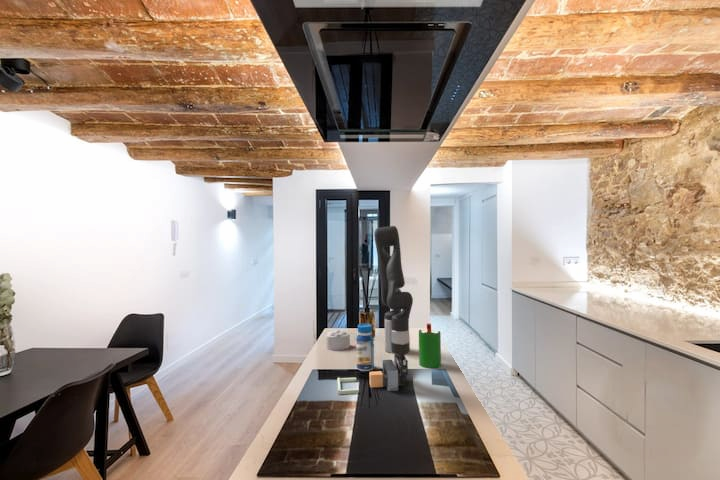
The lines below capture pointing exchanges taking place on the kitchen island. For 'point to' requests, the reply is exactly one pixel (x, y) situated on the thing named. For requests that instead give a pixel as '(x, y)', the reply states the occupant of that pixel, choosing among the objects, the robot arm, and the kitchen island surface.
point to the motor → (429, 348)
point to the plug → (379, 379)
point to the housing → (390, 375)
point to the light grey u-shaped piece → (348, 391)
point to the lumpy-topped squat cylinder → (337, 340)
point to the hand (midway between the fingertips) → (400, 380)
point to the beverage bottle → (365, 348)
